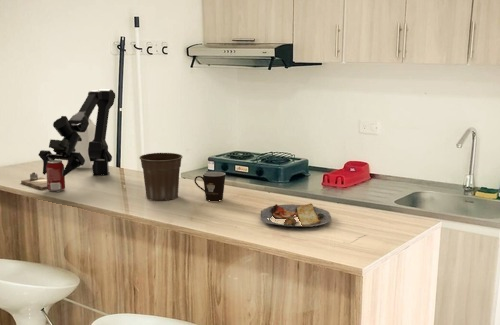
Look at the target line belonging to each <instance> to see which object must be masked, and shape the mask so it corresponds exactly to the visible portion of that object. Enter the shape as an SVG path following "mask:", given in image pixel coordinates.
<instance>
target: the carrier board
mask: <svg viewBox="0 0 500 325" xmlns="http://www.w3.org/2000/svg"><path fill="white" fill-rule="evenodd" d="M38 176H39V175H38V172H37V173H36V172H32V173H29V179H23V180H20V181H21V184H22V185H26V186H28V187H31V188H34V189H38V190H40V191H46V190H48V188H47V178H46V177H45V178H44V177H42V176H41V177H38Z"/></svg>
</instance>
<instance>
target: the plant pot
mask: <svg viewBox="0 0 500 325" xmlns="http://www.w3.org/2000/svg"><path fill="white" fill-rule="evenodd" d="M182 159H183V155H182V154H179V153H174V152H173V153H172V152H154V153H153V152H151V153H146V154H142V155H139V160H140V165H141V168H142V173H143V180H144V188H145V196H146V199H147V200H150V201H154V200H155V201H156V202H159V201H160V202H161V200H162V201H164V200H165V201H171V200H170V199H172V200H175V199H177V198H178V197H179V185H180V184H179V182H180V181H179V180H180V168H181V165H182Z"/></svg>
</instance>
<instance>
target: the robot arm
mask: <svg viewBox="0 0 500 325" xmlns="http://www.w3.org/2000/svg"><path fill="white" fill-rule="evenodd" d="M115 100H116V93H115V92H114V90H113V89H107V88H106V89H104V88H103V89H101V88H99V89H98V90H89V91H88V93H87V96H86V98H85V100H84V102H83V103H82V105H81V106H80V108H79V110H78V112H77V114H76V113H75V114H73V115H72V116H71V117H70V119H69V118H68V117H67V116H66V115H61V116H60V117H59V118H57V119H56V120H54V121H53V123H52V126H53V128H54V129H55V130H56V132H57V133H58V134H59V135H60V137H63V138H62V139H61V140H60V139H49V145H48V148H50V149H53V150H52V151H53V153H52V152H51V150H49V149H48V150H46V149H45V150H44V149H41V150H39V153H38V156H39V157H40V159H41V160H42V162H43V163H42V164H43V167H42V174H43V175H44V176H45V175H47V172H46V165H47V164H48V161H51V160H61V161H67V163H66V165H65V166H64V171H63V176H67V175H68V174H70V173H71V172H72V171H74V170H75V169H77V167H80V165H84V162H85V159H84V158H83V156H82V155H81V154H80V152H75V151H76V150H75V146H76V144H77V142H78V141H82V139H81V136H80V135H79V134H78V133H77V132H85V131H86V130H87V127H88V125H89V121H88V119H89V117H90V118H91V115H92V113H93V112H94V110H95V108H96V107H97V113H96V114H97V116H96V121H95V125H96V128H95V136H94V139H93V141H92V142H89V147H88V155H89V159H90V161H94V162H93V165H92V168H91V169H92V175H93V177H94V176H95V177H96V176H97V177H99V176H109V174H110V169H109V167H110V166H109V163H110V162H111V161H112V160H113V156H112V154H111V153H110V152H109V146H108V143H107V141H106V136H107V130H108V123H109V122H108V121H109V113H110V109H111V108H112V107H113V105H114V103H115Z"/></svg>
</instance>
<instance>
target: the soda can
mask: <svg viewBox="0 0 500 325" xmlns="http://www.w3.org/2000/svg"><path fill="white" fill-rule="evenodd" d="M64 169H65V164H64V163H63V160H60V159H55V160H51V161H48V164H47V165H46V172H47V173H46V179H47V188H48V189H47V190H48V191H49V192H52V193H58V192H62V191H64V190H65V189H66V180H65V176H66V175H65V176H63V171H64Z"/></svg>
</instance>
